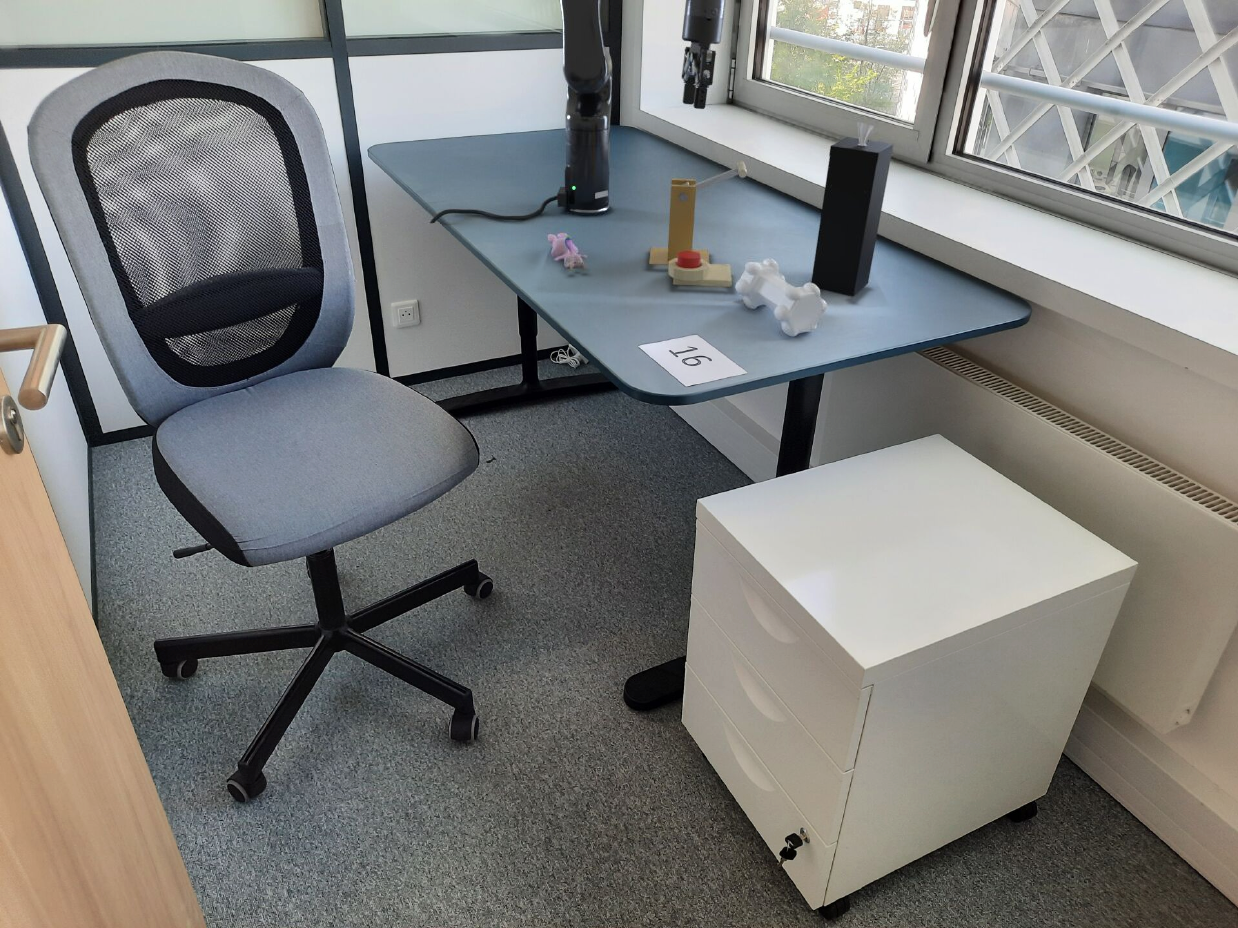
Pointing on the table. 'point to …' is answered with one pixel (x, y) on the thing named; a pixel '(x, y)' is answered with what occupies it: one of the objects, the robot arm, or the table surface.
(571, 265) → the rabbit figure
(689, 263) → the button
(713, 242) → the table surface
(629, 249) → the table surface
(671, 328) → the table surface
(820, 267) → the tissue box
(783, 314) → the dog bone
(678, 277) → the button box
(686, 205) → the bracket
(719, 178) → the tap lever
